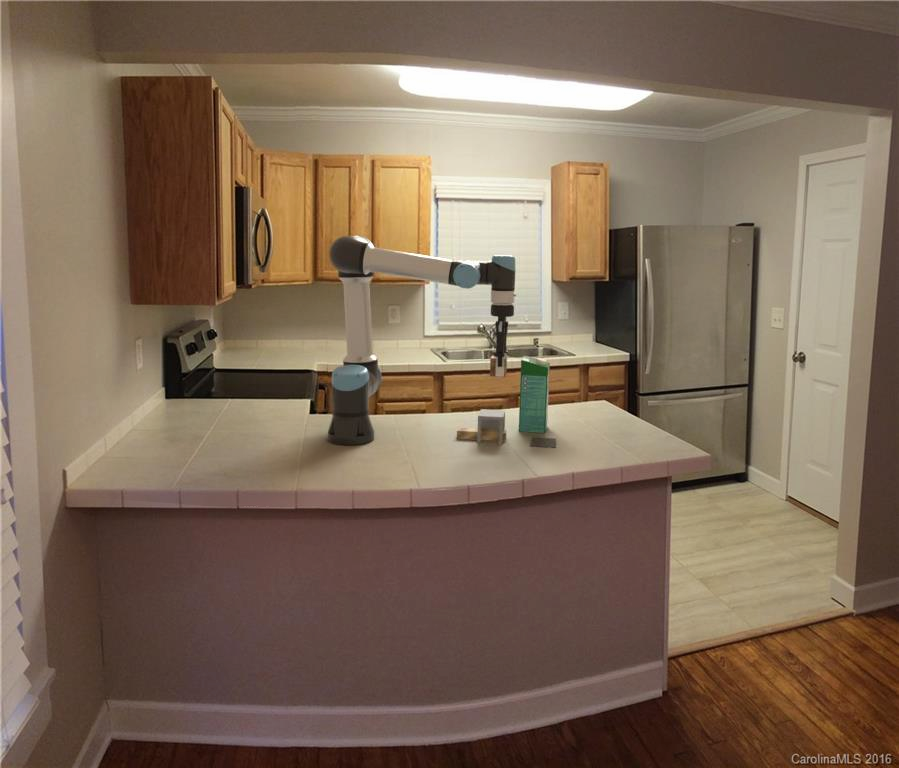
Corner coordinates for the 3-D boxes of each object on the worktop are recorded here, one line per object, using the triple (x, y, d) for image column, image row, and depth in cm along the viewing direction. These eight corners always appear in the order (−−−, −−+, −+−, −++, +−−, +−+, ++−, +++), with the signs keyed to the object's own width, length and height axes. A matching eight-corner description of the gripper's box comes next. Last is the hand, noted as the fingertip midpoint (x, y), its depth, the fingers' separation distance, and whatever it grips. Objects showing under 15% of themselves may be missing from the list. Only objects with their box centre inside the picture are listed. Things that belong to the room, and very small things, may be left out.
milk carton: (545, 433, 243) (548, 360, 238) (518, 431, 245) (521, 359, 240) (547, 426, 252) (550, 356, 247) (521, 424, 254) (523, 354, 248)
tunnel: (477, 442, 231) (477, 415, 229) (480, 435, 240) (481, 409, 238) (502, 444, 230) (502, 417, 228) (504, 436, 239) (505, 410, 237)
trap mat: (530, 446, 228) (530, 445, 228) (531, 437, 238) (531, 437, 238) (555, 447, 227) (555, 447, 227) (556, 439, 237) (556, 438, 237)
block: (489, 376, 234) (490, 358, 233) (491, 373, 239) (491, 355, 238) (505, 376, 233) (505, 358, 232) (506, 374, 238) (507, 356, 237)
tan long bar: (456, 439, 236) (456, 430, 235) (458, 436, 240) (458, 427, 239) (505, 442, 234) (505, 433, 233) (506, 438, 238) (506, 430, 237)
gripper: (512, 306, 222) (509, 380, 227) (516, 301, 239) (513, 369, 244) (488, 306, 223) (486, 379, 228) (493, 300, 240) (491, 368, 245)
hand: (500, 374), depth 236 cm, fingers closed on block, 5 cm apart
